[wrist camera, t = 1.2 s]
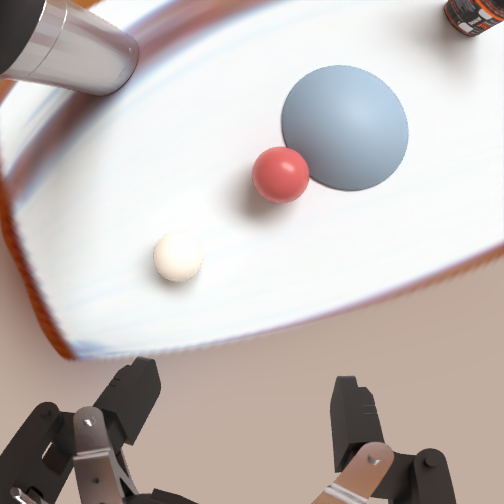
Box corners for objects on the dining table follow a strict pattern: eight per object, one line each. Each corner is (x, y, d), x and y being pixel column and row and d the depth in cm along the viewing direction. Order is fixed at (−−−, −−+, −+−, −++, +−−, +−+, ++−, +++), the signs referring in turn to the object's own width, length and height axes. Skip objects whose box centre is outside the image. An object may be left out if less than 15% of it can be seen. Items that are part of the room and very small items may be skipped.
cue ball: (160, 260, 34) (140, 276, 29) (172, 219, 33) (151, 230, 27) (200, 277, 34) (185, 297, 29) (215, 237, 33) (200, 251, 27)
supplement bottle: (466, 43, 20) (513, 17, 10) (435, 8, 19) (474, -28, 9) (484, 30, 18) (527, 6, 8) (455, -3, 18) (492, -35, 7)
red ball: (248, 187, 30) (238, 193, 25) (267, 140, 29) (261, 135, 23) (295, 207, 30) (296, 216, 25) (315, 160, 29) (320, 159, 23)
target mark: (262, 158, 29) (262, 158, 29) (309, 47, 25) (309, 46, 24) (380, 211, 29) (380, 211, 29) (422, 102, 25) (423, 102, 24)
